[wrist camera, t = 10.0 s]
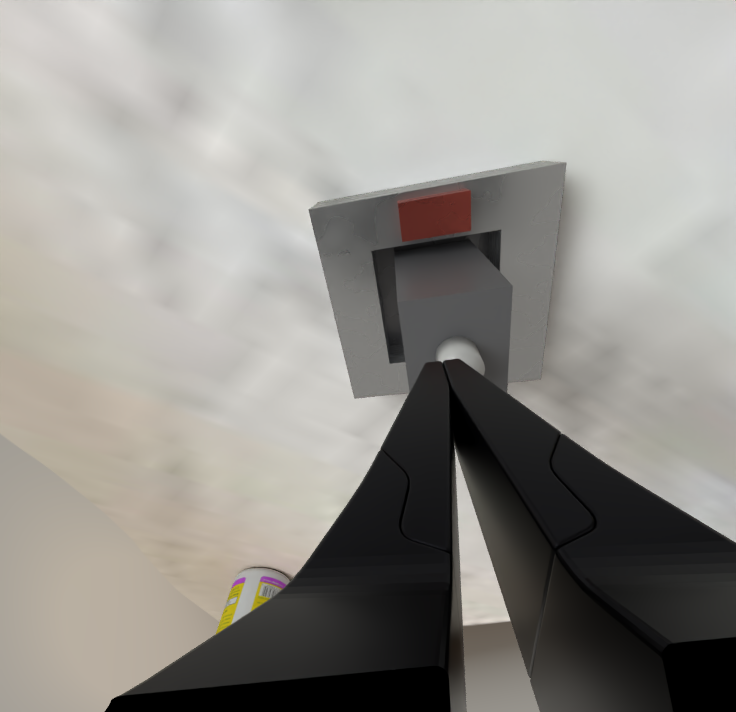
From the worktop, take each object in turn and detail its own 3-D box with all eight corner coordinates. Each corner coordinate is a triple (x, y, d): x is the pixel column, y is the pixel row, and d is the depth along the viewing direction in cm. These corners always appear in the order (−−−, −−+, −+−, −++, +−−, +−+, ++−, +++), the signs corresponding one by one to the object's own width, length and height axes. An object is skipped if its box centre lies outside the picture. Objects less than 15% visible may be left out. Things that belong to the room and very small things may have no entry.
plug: (470, 239, 17) (525, 298, 10) (471, 324, 20) (515, 418, 13) (393, 252, 18) (398, 316, 11) (404, 333, 20) (413, 427, 14)
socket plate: (542, 161, 16) (575, 163, 13) (525, 356, 21) (546, 387, 19) (318, 202, 17) (304, 212, 14) (357, 375, 23) (353, 407, 20)
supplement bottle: (244, 592, 41) (191, 754, 30) (230, 563, 37) (164, 735, 26) (298, 594, 40) (265, 759, 29) (288, 565, 37) (247, 741, 26)
